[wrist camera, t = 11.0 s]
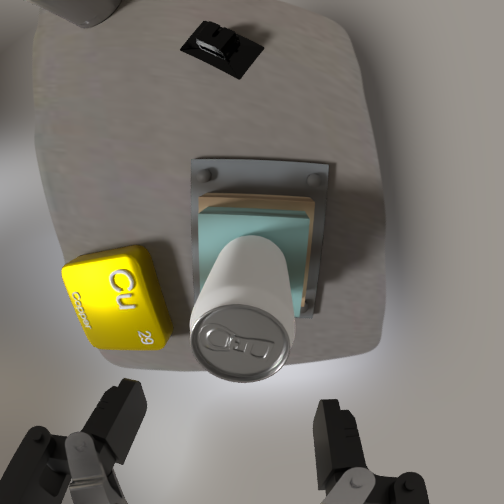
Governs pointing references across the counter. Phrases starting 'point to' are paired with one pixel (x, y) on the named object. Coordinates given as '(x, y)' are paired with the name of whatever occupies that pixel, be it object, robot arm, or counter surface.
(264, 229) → the brick tower
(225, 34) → the black slotted housing
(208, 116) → the counter surface
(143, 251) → the element tile
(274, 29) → the counter surface
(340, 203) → the counter surface
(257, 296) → the can
